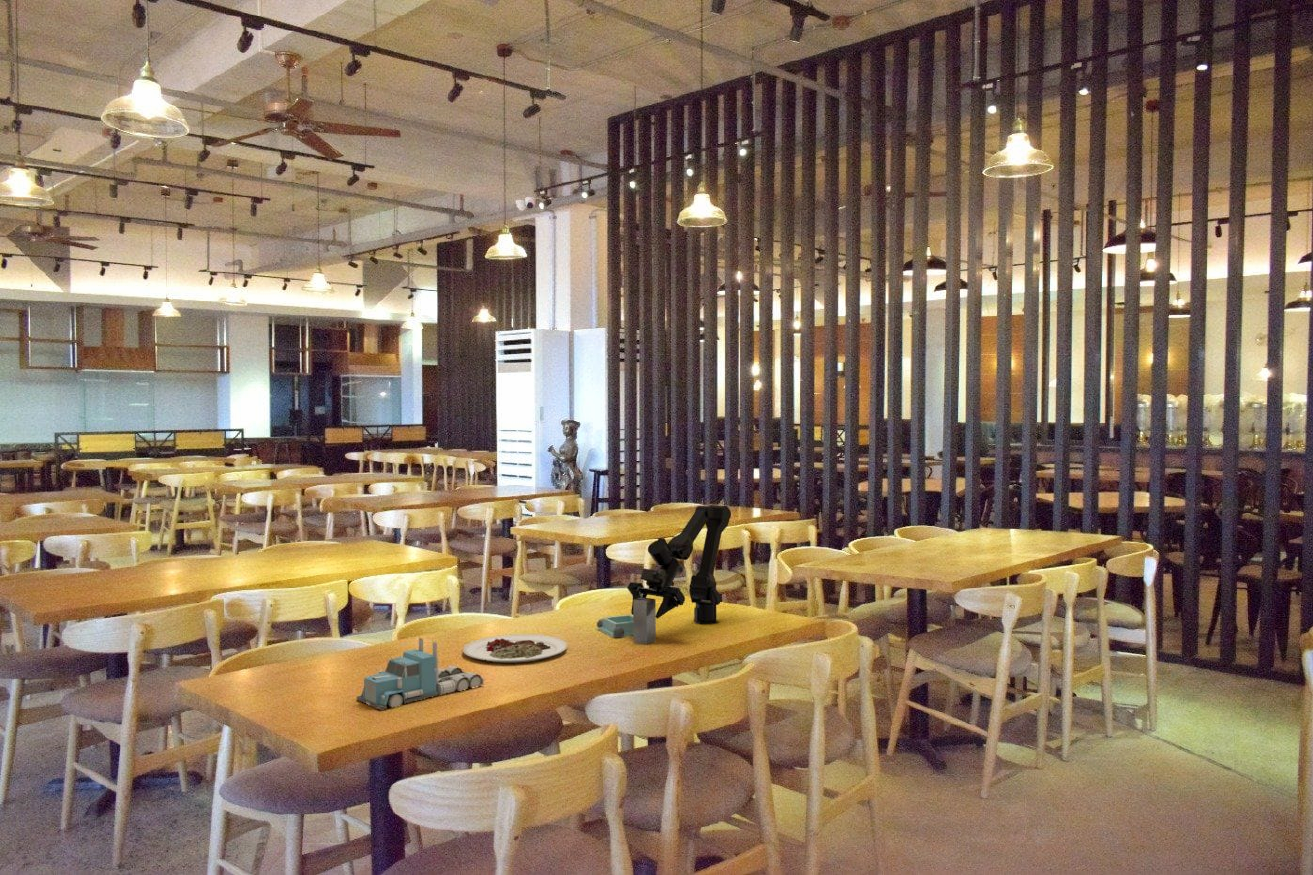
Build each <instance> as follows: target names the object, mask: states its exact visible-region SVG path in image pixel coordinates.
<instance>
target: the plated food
mask: <svg viewBox="0 0 1313 875" xmlns="http://www.w3.org/2000/svg"><path fill="white" fill-rule="evenodd" d="M567 648H568V643H567V642H566V641H565V640H563V639H561V638H558V637H554V636H550V635H543V634H523V633H522V634H505V635H504V634H503V635H496V636H489V637H485V638H480V639H477V640H473V641H471V642H469V643H467V644H466V645H464V646H463V647H462V651H463V654H465V656H467V657H469V658H473V659H475V660H476V659H477V660H483V661H485V660H486V662H491V661H492V663H503V664H504V663H505V664H508V663H513V664H514V663H525V662H534V661H539V660H542V659H546V658H550V657H553V656H556V655H559V654H561V653H563V652H564V651H566V650H567Z"/></svg>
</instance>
